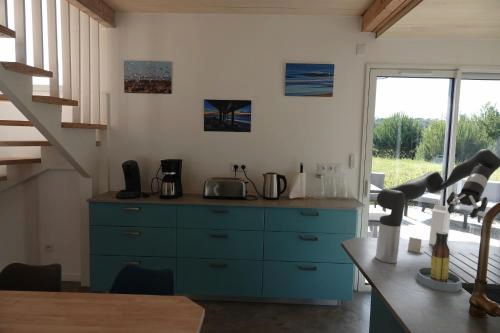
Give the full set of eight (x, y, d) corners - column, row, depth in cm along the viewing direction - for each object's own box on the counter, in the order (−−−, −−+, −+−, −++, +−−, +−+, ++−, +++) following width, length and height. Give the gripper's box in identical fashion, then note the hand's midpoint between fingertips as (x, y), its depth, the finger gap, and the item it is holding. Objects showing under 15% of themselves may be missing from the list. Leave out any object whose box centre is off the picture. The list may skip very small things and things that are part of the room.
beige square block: (408, 249, 176) (410, 235, 175) (423, 252, 172) (424, 238, 171) (407, 251, 173) (409, 237, 172) (422, 254, 169) (424, 240, 169)
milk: (440, 246, 181) (445, 207, 179) (428, 243, 186) (433, 205, 183) (443, 244, 186) (448, 205, 184) (431, 241, 190) (435, 203, 188)
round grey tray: (408, 274, 141) (409, 266, 141) (442, 274, 143) (443, 267, 143) (432, 291, 126) (433, 283, 126) (470, 291, 128) (471, 283, 127)
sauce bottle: (445, 278, 137) (450, 231, 135) (449, 285, 131) (454, 236, 129) (427, 275, 139) (432, 229, 137) (430, 282, 133) (435, 233, 131)
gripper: (495, 194, 142) (481, 224, 137) (458, 189, 154) (444, 216, 148) (492, 183, 139) (477, 212, 133) (454, 178, 150) (440, 205, 144)
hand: (460, 214), depth 140 cm, fingers open, 8 cm apart
